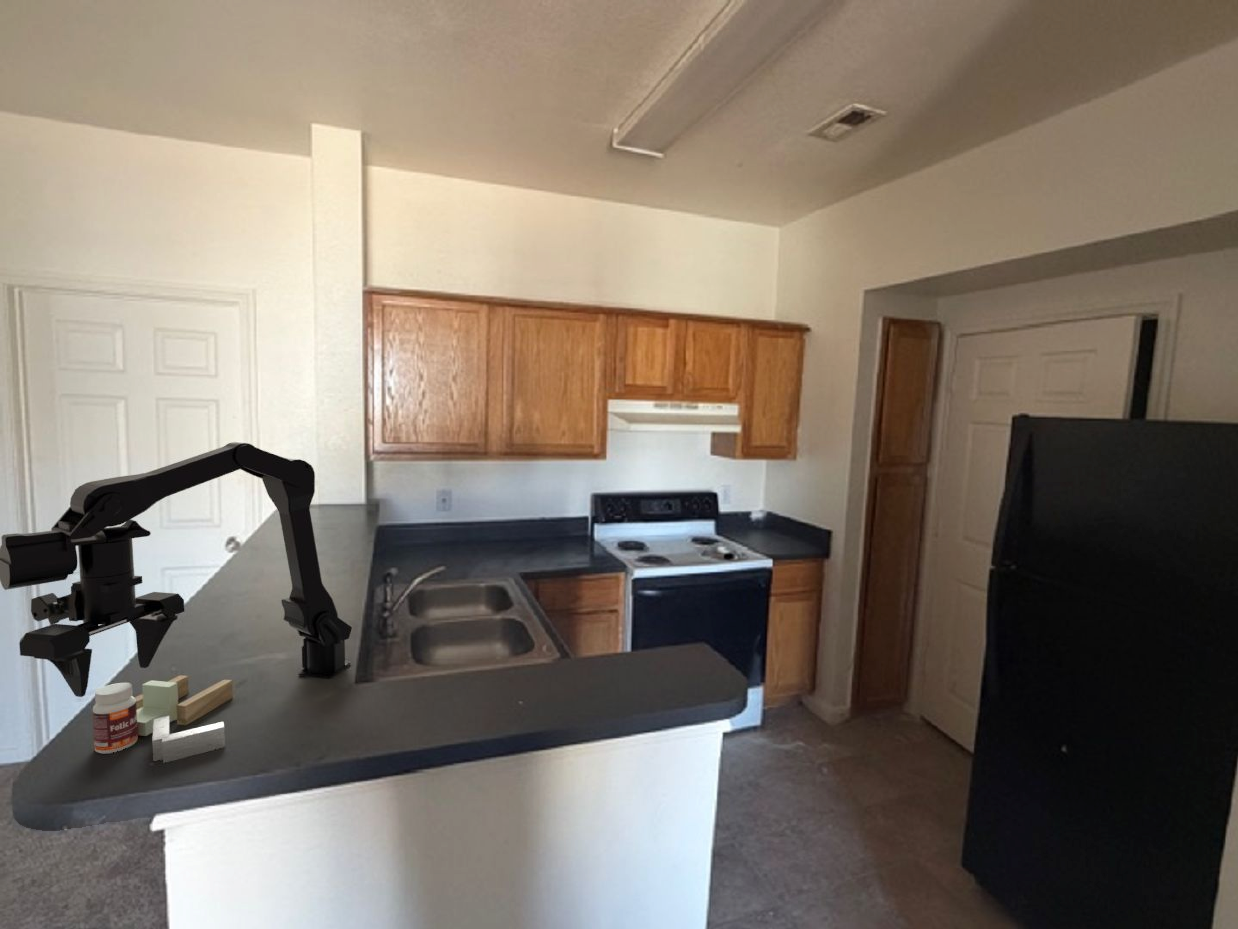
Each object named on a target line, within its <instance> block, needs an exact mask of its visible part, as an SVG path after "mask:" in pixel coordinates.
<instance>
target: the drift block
mask: <svg viewBox="0 0 1238 929" xmlns="http://www.w3.org/2000/svg"><path fill="white" fill-rule="evenodd" d="M141 688H142V689H141V690H142V691H141V692H142V694H143V707H142V708H140V709H138V710H137V736H142V737H143V736H144V737H147V736H149V735H150V734H153V724H154V719H157V718H161V717H166V716H169V719H170V723H172V722H173V721H175V720H177V705H178V704H179V699H178V687H177V683H174V682H167V681H161V680H148V681H147V682H145V683H143V684H142V685H141Z"/></svg>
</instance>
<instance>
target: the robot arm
mask: <svg viewBox="0 0 1238 929" xmlns="http://www.w3.org/2000/svg"><path fill="white" fill-rule="evenodd" d="M239 470H241V471H243V472H245V473H247V474H250V475H251V476H254V477H257V478H259V479H261V480H262V483H263V486H264V487H265V488H264V489H265V490H266V493H267V496H268V497H269V499H270V500H271V501H272V503H273V504H274V507H275V508H276V509H277V512H278V514H279V520H280V524H281V532H282V535H283V536H282V538H283V540H284V541H283V542H284V548H285V553H286V558H287V564H288V569H289V574H290V580H291V588H292V589H291V592H290V593H289V594H290V595H289V597H287V598H283V599H281V606H282V608H283V611H284V612H283V613H284V616H283V621H285V622H287V623H288V624H289V626H290V628H293V629H294V630H296V631H297V633H298V635H299V636H300V637H303V639H302V642H303V644H302V646H301V666H302V669H301V670H300V671H298V672H297V673H298V674H297V675H298V676H302V677H314V678H323V679H326V678H327V679H330V678H331V679H332V678H333V677H335V675H337V674H338V673H340V672H341V671H343V670H344V669H346V668H347V667H349V666H350V665H351V661H350V660H346V641H347V640H349V639H350V636H351V633H352V626H351V625H349V623H348V624H347V622H345V621H343V620H342V619H341V618H339V614H338V610H337V607H336V605H335V602H334V600H333V598H332V596H331V595H330V593H329V592H328V590H327V589H326V587H325V585H324V583H323V581H322V575H321V569H320V563H319V557H318V551H317V545H316V539H315V533H314V532H315V531H314V527H313V521H312V516H311V505H312V504H311V503H312V502H313V498H314V495H315V492H316V484H315V483H316V476H315V474H316V473H315V470H314V468H313V466H312V465H311V464H310V463H309V462H307V461H305V460H304V459H300V458H299V459H297V458H290V457H289V458H288V457H283V456H280V455H277V454H274V453H271V452H269V451H266V450H263V449H261V448H258V447H256V446H255V445H253V444H250V443H247V442H237V441H234V442H232V441H231V442H229V443H227V444H225V445H224V446H222V447H221V446H220V447H218V448H216V449H212V450H209V451H207V452H204V453H201V454H198V455H195V456H192V457H189V458H186V459H183V460H181V461H178V462H174V463H172V464H168V465H165V466H162V467H160V468H157V469H154V470H150V471H148V472H142V473H137V474H130V475H123V476H115V477H108V478H104V479H98V480H92V481H89V482H86V483H84V484H82V485H79V486H78V487H77V488H76V489H75V490H74V492H73V493H72V495H71V498H70V503H69V505H70V506H69V507H68V509H67V510H65V512H64V513H63V514H62V515H61V517H60V518H59V519H58V520H57V522H56V523H54V525H52V527H51V530H48V531H47V530H46V531H41V532H40V531H37V532H32V533H8V534H3V535H2V536H1V537H0V538H1V545H0V584H1V587H2V588H3V589H4V590H5V591H6V590H13V589H17V588H23V587H24V588H26V587H29V586H30V587H31V586H36V585H43V584H49V583H52V582H53V583H54V582H60V581H66V580H67V578H68V576H69V575H73V574H74V573H75V571H77V568H78V567H79V580H78V581H76V582H73V583H72V585H71V586H70V594H66V595H64V596H60V597H58V596H57V595H56V594H55V593H53V592H50V593H48V594H44V595H39V596H37V597H34V598H31V600H30V601H31V602H30V603H31V604H30V613H31V615H32V618H33V620H34V621H36V622H41V621H44V620H48V622H49V625H47V626H44V627H41V628H40V627H39V628H37V629H34V630H32V631H31V630H30V631H27V632H26V633H24V635H23V636H22V637H21V638H20V640H19V643H18V644H19V656H21V657H33V658H34V659H39V660H46V661H48V662H49V663H52V664H53V665H54V667H55V668H56V669H57V670H58V671H59V672H60V674H61V676H62V677H63V679H64V681H65V682H66V683H67V685H68V687H69V688H70V689H71V692H72V693H73V695H74V696H75V697H78V698H82V697H84V696H86V693H87V689H88V685H89V684H88V683H89V677H90V675H89V674H90V668H91V661H92V654H93V649H92V648H87V646H88V644H90V641H91V638H90V637H91V636H94V635H96V634H100V633H102V632H105V631H107V630H111V629H113V628H116V627H119V626H121V625H124V624H127V623H129V624H130V625H131V627H132V628H133V629H134V631H135V635H136V636H135V639H136V649H137V660H138V664H139V667H140V668H141V669H147V668H148V667H149V666H150V665H151V663H152V661H153V658H154V657H155V654H156V653H157V651H158V650H159V647H160V645H161V642H162V641H163V639H164V638H165V635H167V633H168V631H169V629H170V628H171V626H172V625H173V623H174V622H175V621H176V620H178V618H179V617H178V615H180V614H181V613H183V612H184V613H185V599H184V598H183V597H182V596H181V595H180V594H179V593H177V592H176V593H173V592H161V591H160V592H158V591H152V592H150V593H146V594H143V595H140V596H137V597H136V586H137V585H140V584H143V576H141V575H135V566H134V550H133V548H134V547H133V539H137V538H144V537H150V536H151V533H152V532H151V531H150V530H148V529H145V528H144V527H142V526H141V525H140V524H139V523H138V521H137V520H134V518H136V517H137V516H139V515H141V514H143V513H145V512H147V511H148V510H149V509H150V508H151V507H153V506H154V505H155V504H157V503H158V502H159V501H161V500H164V499H165V498H166V497H170V496H173V495H174V494H177V493H180V492H182V491H185V490H188V489H191V488H193V487H196V486H199V485H201V484H204V483H207V482H209V481H211V480H215V479H218V478H220V477H224V476H225V475H229V474H230V473H234V472H236V471H239ZM77 547H78V548H77ZM77 551H78V553H77ZM78 564H79V566H78ZM66 619H68V621H69V622H79V621H82V623H80V624H77V625H73V624H63V623H61V624H59V622H60V621H63V620H66Z"/></svg>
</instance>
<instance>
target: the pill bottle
mask: <svg viewBox="0 0 1238 929" xmlns="http://www.w3.org/2000/svg"><path fill="white" fill-rule="evenodd" d="M135 697H136V696H135ZM135 697H134V696H133V684H132V683H130V682H118V683H117V682H116V683H112V684H107V685H105V686H103V687H100V688H98V689H97V690H96V691H95V693H94V701H95V704H94V706H92V722H93V723H92V725H93V744H94V751H95V752H96V753H97V754H101V755H102V754H103V755H104V754H114V753H118V752H120V751H123V749H124V750H126V749H128V748H130V747H132V746H134V745H135V743H137V742H138V738H139V737H138V736H139V735H137V709H136V708H137V707H136V699H135ZM125 748H126V749H125ZM117 751H118V752H117ZM113 752H114V753H113Z"/></svg>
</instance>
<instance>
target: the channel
mask: <svg viewBox="0 0 1238 929" xmlns="http://www.w3.org/2000/svg"><path fill="white" fill-rule="evenodd" d="M166 682H174V683H177V687H178V700H179V699H181V698H182V697H184V696H186V695H188V694H189V693H190V692H189V690H190V688H189V676H188V675H178V676H175V677H174V678H172V679H170V680H168V681H166ZM233 691H234V690H233V680H232V679H223V680H222V679H221V680H220V681H219V682H217V683H215V684H212V685H211V686H209V687H207V688H206V689H204V690H202V691H201V692H198V693H197V694H195V695H193V696H191V697H189V698H187V699H186V700H184V701H182V702H180V703H178V705H177V719H176V720H177V725H180V726H182V725H183V726H187V725H189V724H190V723H192V722H194V721H195V720H197V719H199V718H201V717H203V716H205V715H206V714H207V713H209V712H212V710H215V709H216V708H218V707H219V706H221V705H223V704H225V703H227V702H228V701H229V700H232V699H233V697H234V696H233V694H234V693H233ZM135 699H136V707H137V708H136V709H137V710H138V709H140V708H142V707H143V693H141V694H139V695H136V696H135Z"/></svg>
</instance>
